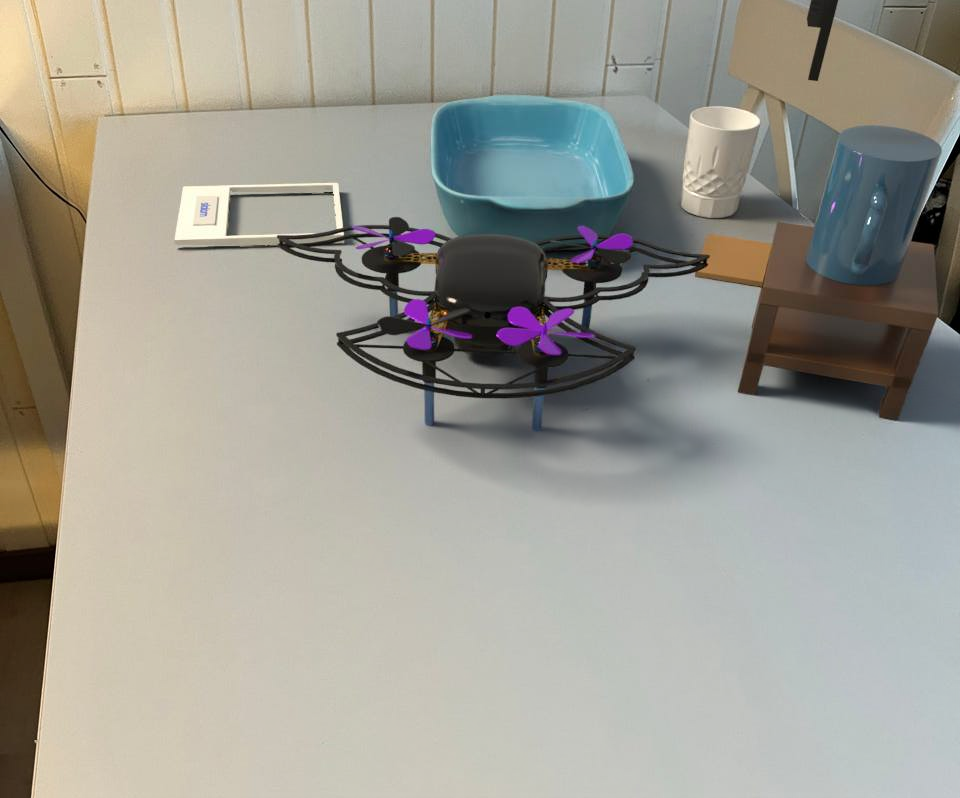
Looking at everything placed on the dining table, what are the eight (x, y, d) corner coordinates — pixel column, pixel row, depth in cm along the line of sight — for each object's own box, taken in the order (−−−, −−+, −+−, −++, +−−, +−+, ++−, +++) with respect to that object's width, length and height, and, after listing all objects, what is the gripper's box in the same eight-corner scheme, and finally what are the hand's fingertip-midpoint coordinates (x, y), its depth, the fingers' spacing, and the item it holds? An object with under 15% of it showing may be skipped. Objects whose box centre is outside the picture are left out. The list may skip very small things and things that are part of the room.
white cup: (729, 193, 122) (747, 105, 115) (750, 220, 116) (770, 129, 109) (667, 195, 121) (682, 106, 114) (685, 221, 115) (702, 130, 108)
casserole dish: (431, 146, 130) (431, 86, 125) (600, 149, 131) (606, 90, 126) (429, 272, 104) (429, 203, 99) (639, 275, 105) (649, 207, 100)
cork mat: (795, 252, 110) (797, 247, 110) (789, 291, 104) (790, 285, 103) (706, 238, 112) (707, 233, 112) (694, 276, 106) (695, 270, 105)
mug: (899, 252, 88) (940, 132, 81) (900, 308, 80) (945, 181, 73) (808, 239, 89) (840, 120, 82) (800, 292, 82) (834, 166, 75)
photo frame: (183, 184, 115) (337, 181, 118) (184, 194, 116) (338, 190, 118) (174, 238, 105) (343, 233, 107) (176, 248, 106) (344, 243, 108)
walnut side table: (897, 345, 96) (934, 244, 89) (897, 420, 87) (938, 314, 80) (752, 321, 99) (777, 221, 92) (737, 392, 89) (763, 286, 82)
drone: (709, 220, 92) (755, 378, 72) (690, 317, 99) (728, 485, 79) (281, 201, 92) (212, 352, 73) (292, 299, 99) (232, 462, 80)
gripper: (812, -304, 60) (735, 80, 75) (1259, -277, 56) (1082, 125, 71) (819, -307, 65) (745, 53, 81) (1229, -283, 61) (1070, 93, 76)
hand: (903, 87), depth 76 cm, fingers open, 13 cm apart
